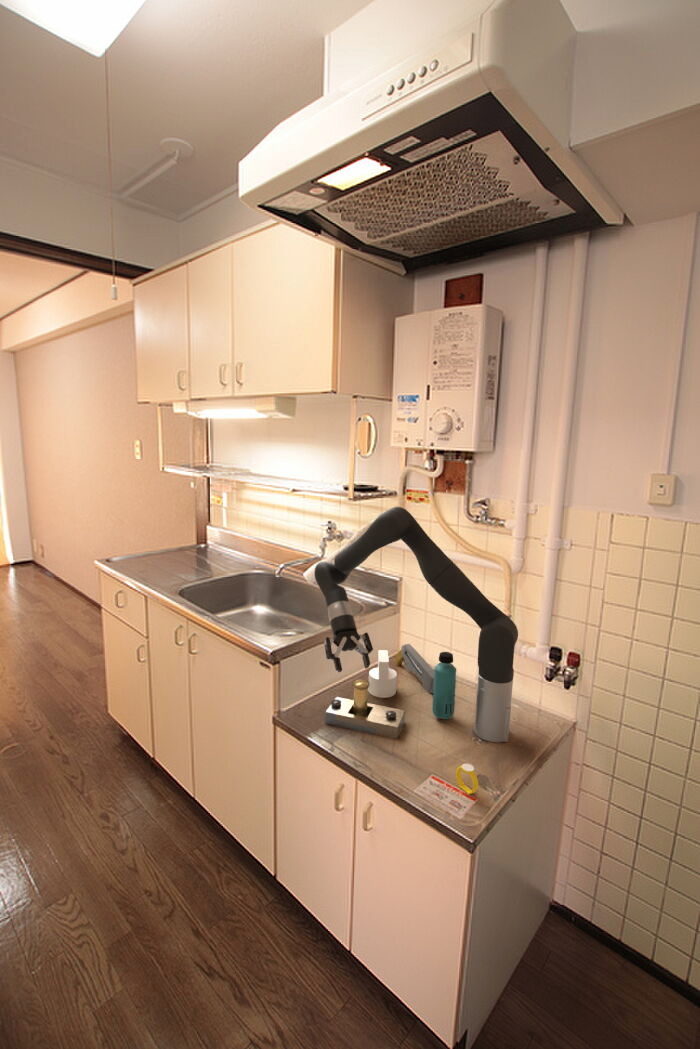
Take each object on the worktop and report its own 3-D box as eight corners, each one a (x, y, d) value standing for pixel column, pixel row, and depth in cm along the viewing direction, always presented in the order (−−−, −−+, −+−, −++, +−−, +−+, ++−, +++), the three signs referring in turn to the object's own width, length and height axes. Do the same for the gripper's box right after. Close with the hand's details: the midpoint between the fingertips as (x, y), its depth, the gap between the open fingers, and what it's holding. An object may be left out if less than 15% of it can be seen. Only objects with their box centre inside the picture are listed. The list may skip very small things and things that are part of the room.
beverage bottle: (444, 726, 143) (448, 660, 140) (426, 716, 148) (430, 652, 145) (458, 719, 147) (463, 654, 144) (441, 709, 152) (444, 647, 149)
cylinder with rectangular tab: (397, 698, 158) (398, 662, 156) (368, 697, 158) (369, 661, 156) (395, 684, 167) (396, 650, 165) (368, 683, 167) (369, 649, 165)
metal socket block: (404, 722, 145) (405, 707, 144) (396, 739, 136) (397, 723, 135) (336, 707, 151) (336, 693, 151) (325, 723, 143) (325, 708, 142)
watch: (479, 796, 116) (482, 774, 114) (470, 800, 114) (473, 777, 113) (461, 779, 121) (463, 757, 119) (452, 783, 119) (455, 761, 118)
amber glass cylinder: (370, 719, 146) (371, 680, 144) (365, 727, 141) (366, 688, 139) (354, 715, 147) (355, 677, 145) (349, 724, 143) (350, 685, 141)
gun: (425, 715, 164) (437, 683, 157) (391, 660, 183) (400, 630, 176) (433, 713, 166) (445, 682, 158) (398, 659, 185) (408, 629, 177)
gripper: (322, 615, 150) (334, 668, 142) (366, 611, 155) (380, 661, 147) (317, 626, 156) (328, 677, 147) (359, 621, 161) (372, 670, 152)
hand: (354, 669), depth 147 cm, fingers open, 8 cm apart
